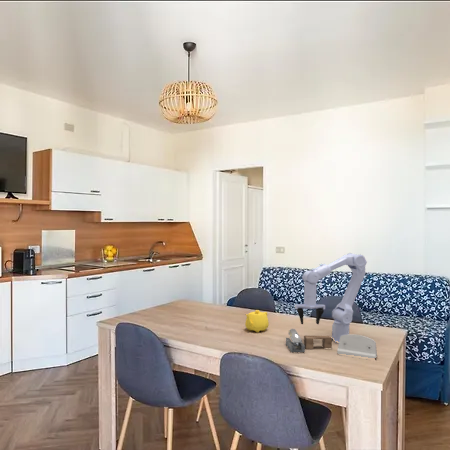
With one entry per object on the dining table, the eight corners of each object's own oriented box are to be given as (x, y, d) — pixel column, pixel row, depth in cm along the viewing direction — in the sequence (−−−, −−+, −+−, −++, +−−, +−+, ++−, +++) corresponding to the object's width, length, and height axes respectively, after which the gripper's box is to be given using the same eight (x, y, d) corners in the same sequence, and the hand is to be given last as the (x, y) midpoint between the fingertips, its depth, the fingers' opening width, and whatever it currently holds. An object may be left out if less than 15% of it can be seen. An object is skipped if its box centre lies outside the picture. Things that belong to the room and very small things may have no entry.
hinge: (336, 354, 170) (337, 331, 173) (337, 355, 174) (339, 332, 177) (376, 361, 163) (377, 336, 166) (377, 361, 167) (378, 337, 170)
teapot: (252, 336, 196) (253, 315, 196) (237, 331, 204) (237, 311, 204) (274, 329, 209) (274, 309, 209) (258, 325, 217) (259, 306, 217)
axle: (287, 336, 183) (289, 328, 182) (296, 336, 183) (297, 329, 183) (292, 345, 173) (294, 337, 172) (301, 346, 173) (302, 338, 173)
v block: (285, 344, 183) (285, 337, 183) (298, 344, 184) (298, 337, 184) (291, 352, 171) (291, 345, 171) (304, 352, 172) (304, 345, 172)
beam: (303, 346, 181) (304, 335, 181) (328, 346, 182) (329, 335, 182) (306, 349, 177) (306, 338, 177) (331, 349, 178) (331, 338, 178)
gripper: (297, 297, 182) (297, 325, 182) (327, 297, 182) (327, 325, 182) (293, 294, 189) (293, 322, 189) (322, 294, 189) (322, 322, 189)
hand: (309, 323), depth 186 cm, fingers open, 7 cm apart
